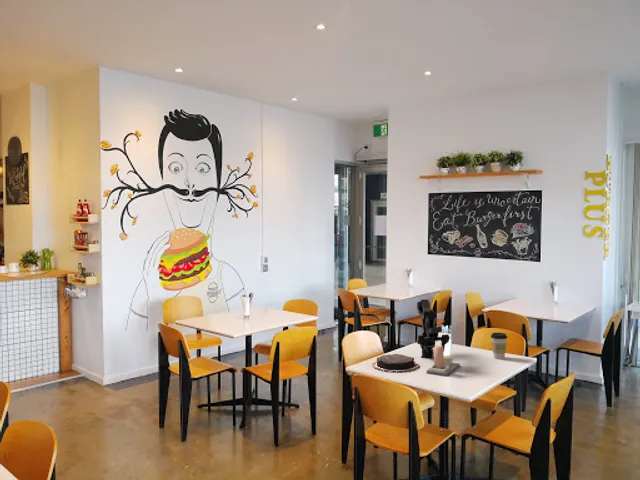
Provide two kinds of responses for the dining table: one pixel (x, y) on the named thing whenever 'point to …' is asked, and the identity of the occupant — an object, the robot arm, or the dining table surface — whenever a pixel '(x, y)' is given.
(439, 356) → the pillar
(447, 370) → the base plate
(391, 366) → the chocolate cake
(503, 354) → the coffee cup
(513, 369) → the dining table surface
